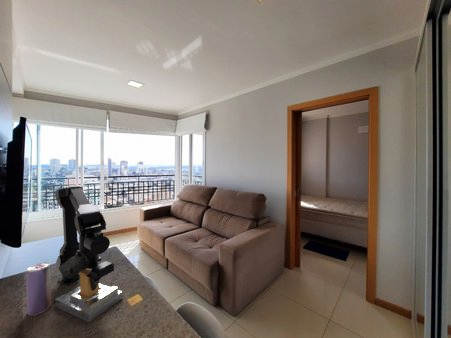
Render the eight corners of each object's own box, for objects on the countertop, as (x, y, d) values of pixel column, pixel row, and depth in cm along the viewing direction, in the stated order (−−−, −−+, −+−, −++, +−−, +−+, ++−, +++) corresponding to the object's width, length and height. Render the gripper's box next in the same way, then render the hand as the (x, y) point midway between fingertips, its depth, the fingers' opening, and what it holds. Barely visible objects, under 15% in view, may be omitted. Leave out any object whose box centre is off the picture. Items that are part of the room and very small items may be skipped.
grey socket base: (55, 306, 67) (55, 293, 67) (90, 286, 79) (90, 275, 78) (88, 322, 61) (88, 308, 61) (122, 298, 72) (122, 286, 72)
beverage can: (36, 318, 62) (35, 272, 62) (22, 315, 63) (21, 270, 63) (55, 304, 68) (55, 263, 68) (42, 302, 69) (41, 261, 69)
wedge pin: (78, 296, 68) (78, 271, 68) (92, 289, 73) (91, 265, 72) (87, 300, 67) (87, 274, 66) (100, 292, 71) (100, 268, 71)
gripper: (46, 250, 65) (47, 295, 66) (82, 261, 58) (82, 312, 59) (81, 238, 76) (82, 277, 76) (115, 246, 69) (115, 290, 69)
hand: (89, 288), depth 70 cm, fingers closed on wedge pin, 4 cm apart
